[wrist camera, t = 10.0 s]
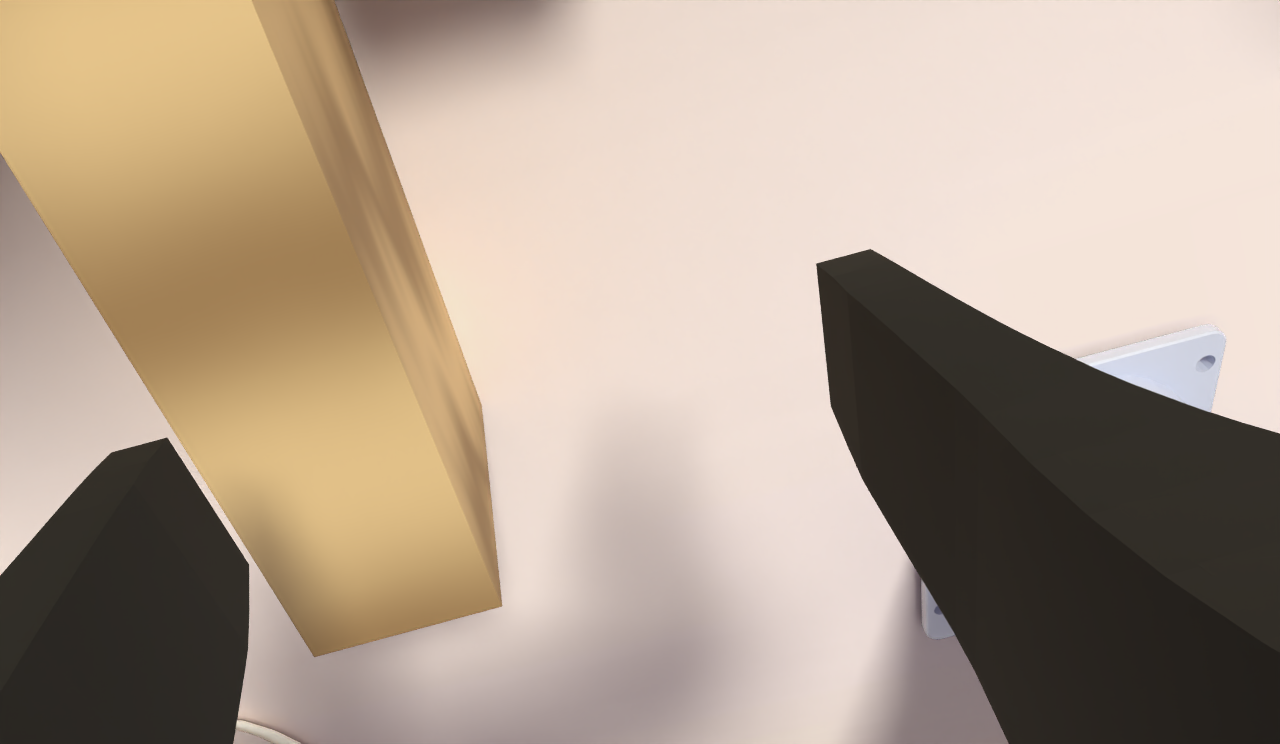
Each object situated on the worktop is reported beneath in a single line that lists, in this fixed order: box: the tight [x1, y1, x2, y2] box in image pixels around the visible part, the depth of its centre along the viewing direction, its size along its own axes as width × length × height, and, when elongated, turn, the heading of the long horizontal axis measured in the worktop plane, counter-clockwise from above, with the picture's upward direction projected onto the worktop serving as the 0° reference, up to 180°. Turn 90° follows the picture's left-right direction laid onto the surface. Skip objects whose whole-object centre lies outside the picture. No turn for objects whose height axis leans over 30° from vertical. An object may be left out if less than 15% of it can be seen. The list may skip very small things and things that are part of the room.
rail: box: [0, 0, 502, 657], centre depth 16 cm, size 15×4×6 cm, turn 10°
